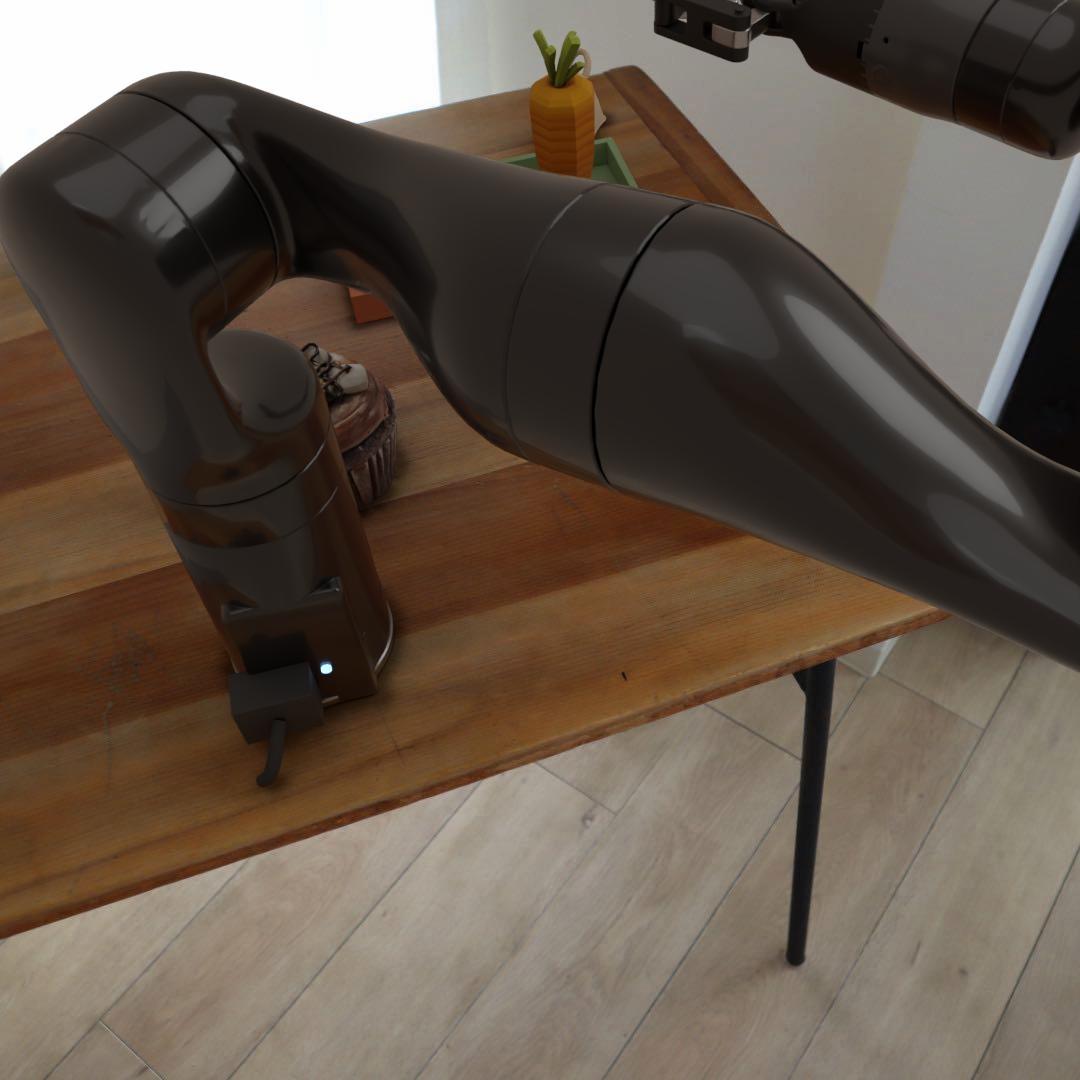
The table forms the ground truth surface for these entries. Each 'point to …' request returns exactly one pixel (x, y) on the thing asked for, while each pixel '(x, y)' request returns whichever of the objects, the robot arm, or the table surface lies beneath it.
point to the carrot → (563, 112)
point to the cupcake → (359, 421)
